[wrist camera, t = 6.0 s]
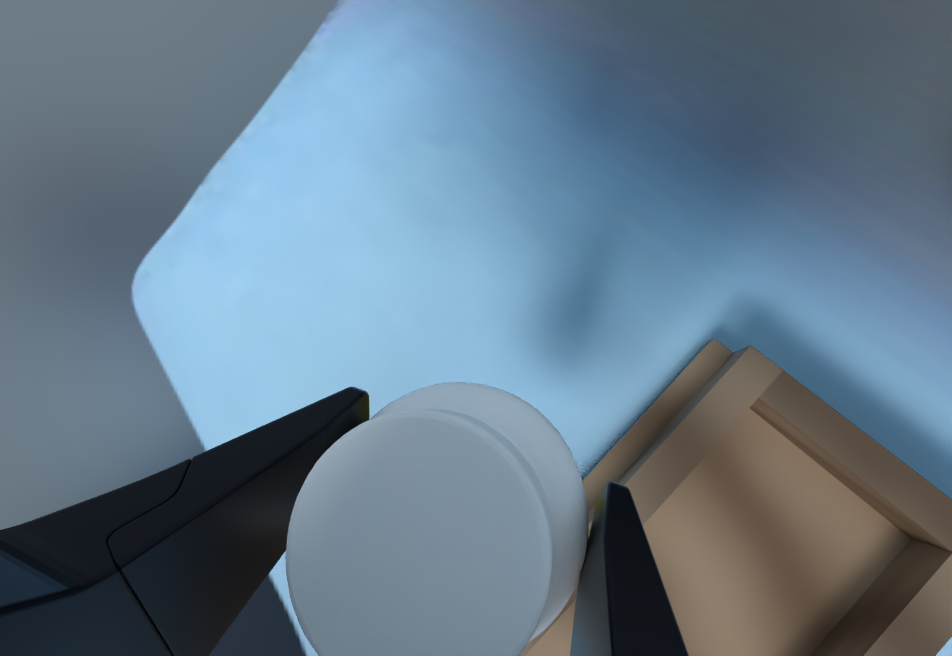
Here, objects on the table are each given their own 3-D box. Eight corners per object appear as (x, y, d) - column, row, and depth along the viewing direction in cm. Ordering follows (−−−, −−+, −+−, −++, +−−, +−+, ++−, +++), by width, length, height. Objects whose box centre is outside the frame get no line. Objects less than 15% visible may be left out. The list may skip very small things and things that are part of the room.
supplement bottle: (405, 420, 17) (222, 407, 7) (548, 383, 16) (546, 316, 7) (437, 579, 16) (262, 808, 6) (594, 542, 15) (670, 732, 6)
